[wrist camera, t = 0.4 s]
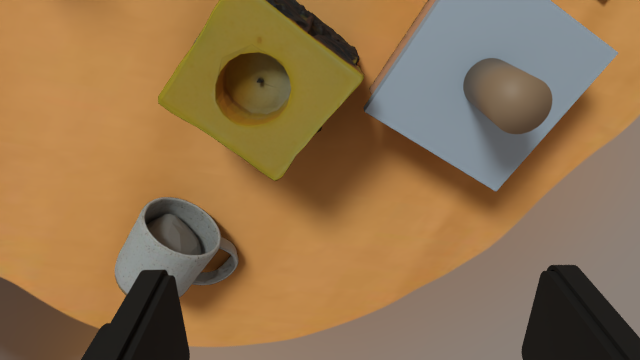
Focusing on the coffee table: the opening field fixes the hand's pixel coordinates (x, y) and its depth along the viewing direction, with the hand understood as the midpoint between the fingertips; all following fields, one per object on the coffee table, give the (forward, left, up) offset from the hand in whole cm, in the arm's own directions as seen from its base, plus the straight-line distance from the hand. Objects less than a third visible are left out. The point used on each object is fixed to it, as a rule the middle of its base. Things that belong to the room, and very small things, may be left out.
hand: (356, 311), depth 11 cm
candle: (+2, -4, -30) cm, 30 cm away
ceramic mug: (+22, -3, -30) cm, 37 cm away
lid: (-6, +10, -24) cm, 27 cm away
